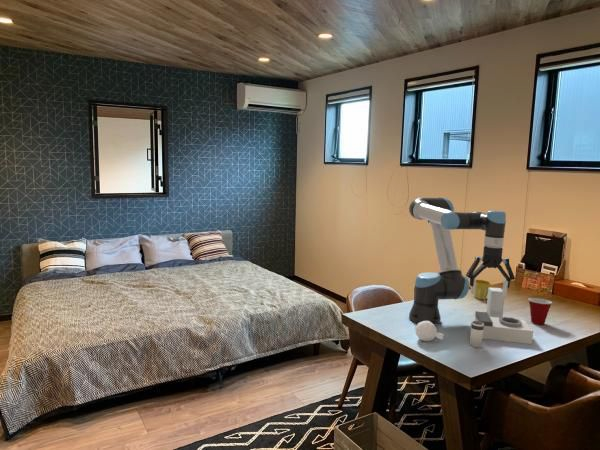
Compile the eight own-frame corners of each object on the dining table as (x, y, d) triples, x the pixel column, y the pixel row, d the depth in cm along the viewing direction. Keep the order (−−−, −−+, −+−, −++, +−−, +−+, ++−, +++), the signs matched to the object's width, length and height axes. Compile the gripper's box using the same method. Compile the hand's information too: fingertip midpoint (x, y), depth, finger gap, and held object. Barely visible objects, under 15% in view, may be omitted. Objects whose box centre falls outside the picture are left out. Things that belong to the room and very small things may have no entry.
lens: (470, 346, 193) (472, 324, 192) (468, 342, 198) (470, 320, 197) (482, 348, 192) (485, 325, 191) (480, 343, 197) (483, 321, 196)
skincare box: (502, 322, 225) (505, 292, 223) (488, 321, 227) (491, 291, 224) (498, 316, 233) (501, 287, 231) (485, 315, 235) (488, 286, 232)
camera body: (479, 338, 203) (480, 321, 202) (474, 327, 217) (475, 311, 216) (531, 344, 199) (533, 326, 198) (523, 332, 212) (525, 316, 211)
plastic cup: (546, 320, 230) (549, 298, 229) (552, 328, 220) (555, 304, 218) (523, 317, 233) (526, 295, 232) (527, 325, 223) (530, 301, 221)
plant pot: (491, 297, 268) (492, 281, 267) (487, 301, 260) (489, 285, 258) (472, 293, 274) (474, 278, 272) (469, 297, 265) (470, 281, 264)
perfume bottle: (411, 338, 195) (440, 347, 190) (417, 317, 196) (445, 326, 191) (414, 337, 203) (441, 346, 198) (419, 317, 204) (446, 325, 199)
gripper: (466, 246, 190) (462, 295, 193) (526, 249, 190) (521, 298, 192) (461, 243, 198) (457, 290, 201) (518, 246, 197) (513, 293, 200)
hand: (488, 294), depth 197 cm, fingers open, 13 cm apart
